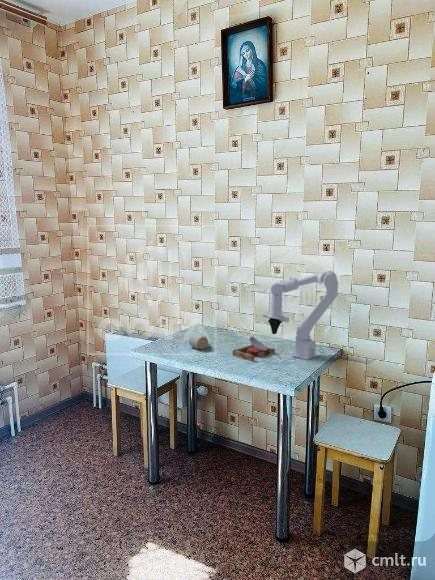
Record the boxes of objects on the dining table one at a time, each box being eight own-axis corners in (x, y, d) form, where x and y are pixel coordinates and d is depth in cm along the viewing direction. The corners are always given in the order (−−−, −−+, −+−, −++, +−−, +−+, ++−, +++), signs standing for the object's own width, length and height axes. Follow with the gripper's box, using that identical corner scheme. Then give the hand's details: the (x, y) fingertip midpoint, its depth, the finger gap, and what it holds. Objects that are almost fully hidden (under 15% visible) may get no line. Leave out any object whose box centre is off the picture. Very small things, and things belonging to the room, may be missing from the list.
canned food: (256, 359, 225) (262, 341, 226) (268, 363, 216) (274, 343, 218) (239, 352, 219) (245, 334, 221) (251, 356, 210) (258, 336, 212)
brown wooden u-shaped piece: (274, 353, 219) (275, 349, 218) (252, 361, 208) (252, 356, 207) (255, 348, 228) (255, 343, 228) (232, 355, 217) (232, 350, 217)
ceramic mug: (197, 351, 223) (198, 336, 222) (188, 347, 229) (188, 333, 228) (213, 347, 230) (214, 333, 229) (204, 344, 236) (204, 330, 235)
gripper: (293, 308, 213) (291, 335, 215) (268, 303, 222) (267, 329, 225) (284, 310, 207) (283, 338, 210) (260, 305, 217) (258, 331, 220)
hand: (274, 333), depth 217 cm, fingers closed
